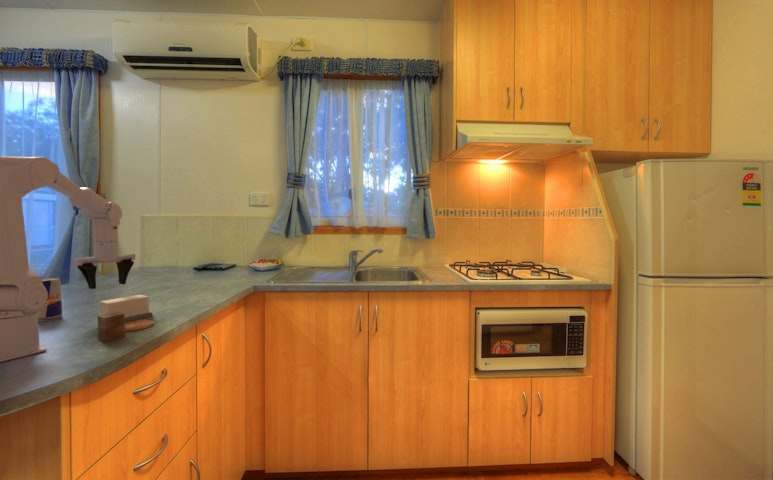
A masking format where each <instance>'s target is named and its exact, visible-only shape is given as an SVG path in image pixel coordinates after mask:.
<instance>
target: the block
mask: <svg viewBox="0 0 773 480" xmlns="http://www.w3.org/2000/svg"><path fill="white" fill-rule="evenodd" d="M125 323H126V322H125V321H124V314H123V313H120V312H113V313H108V314H103V315H101V314H98V315H97V334H98V335H97V336H98V337H97V338H98V340H100V341H102V342H104V343H108V342H112V341H115V340H120V339H123V338H126V332H125Z"/></svg>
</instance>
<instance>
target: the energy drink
mask: <svg viewBox="0 0 773 480" xmlns="http://www.w3.org/2000/svg"><path fill="white" fill-rule="evenodd" d="M42 282H43V285H44V287H45V288H46V290H47V292H48V298H47V301H46V303H45V305H44V306H43V307H42V308H41V311H39V312H37V313H38V321H39V322H40V323H42V322H43V323H46V322H52V321H57V320H59V319H62V317H63V303H62V302H63V301H62V286H61V285H62V283H61V280H60V278H59V277H48V278H42ZM39 322H38V323H39Z"/></svg>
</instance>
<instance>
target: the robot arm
mask: <svg viewBox="0 0 773 480" xmlns="http://www.w3.org/2000/svg"><path fill="white" fill-rule="evenodd" d="M45 187H48V188H49V189H52V190H54V191H56V192H58V193H60V194H61V195H64V196H66V197H68V201H69V203H70V204H71V205H73V206H74V207H76V208H78V209H79V210H81V211H83V213H85V215H86V218H87V219H88V220H90V221H91V223H92V244H93V256H85V257H77V258H73V262H74V263H73V265H74V266H77V269H78V270H79V272H80V273H81V274H82V276H83V277H84V279H85V281H86V283H87V287H88V289H91V290H94V289H96V287H97V282H96V274H97V268H98V266H96V265H95V264H104V263H115V264H116V267H117V272H118V282H119V283H118V284H119V285H125V284H126V283H127V278H128V276H129V273H130V271H131V269H132V267H133V266H134V264H135V261H136V254H135V253H125V254H120V251H119V248H120V247H119V229H118V228H119V227H120V225H121V219H122V216H123V211H122V208H121V207H120V205H119V204H117V203H115V202H113V201H108V200H107V199H105V198H104V197H103V196H101V195H99V194H98V193H97V192H95V191H94V189H93V188H91V187H84V186H82V187H80V186H79V185H78V184H76V183H75V182H73V181H72V180H71V179H70V178H68V176H66V175H65V174H63V173H62V172H61V171H60V167H59V165H58V164H56V163H55V162H53V161H52V160H51V159H49V158H48V157H45V156H12V155H11V156H8V155H7V156H6V155H0V363H2V362H5V361H10V360H13V359H14V360H15V359H18V358H23V357H26V356H31V355H36V354H38V353H39V354H40V353H43V352H46V351H47V348H46V347H44V346H43V345H41V344H40V334H39V331H40V330H39V322H38V313H37V312H39V311H41V308H42V307H43V306H44V305H45V303H46V301H47V298H48V292H47V290H46V288H45V287H44V285H43V282H42V279H43V277H42V276H41V275H39V274H38V273H36V272H35V271H34V270H32V269H30V264H29V256H28V255H29V253H28V247H27V238H26V237H27V236H26V227H25V220H24V218H25V217H24V210H23V209H24V208H23V198H24V197H25V196H26V195H28V194H29V193H31V192H32V191H36V190H39V189H41V188H42V189H43V188H45Z"/></svg>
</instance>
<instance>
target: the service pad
mask: <svg viewBox="0 0 773 480" xmlns="http://www.w3.org/2000/svg"><path fill="white" fill-rule="evenodd" d="M153 325H154V321H153V320H150V319H148V320H147V319H143V320H142V319H141V320H140V319H138V320H131V321H126V322H125V333H126V332H136V331H139V330H140V331H141V330H145V329H148V328H150V327H152V326H153Z"/></svg>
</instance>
